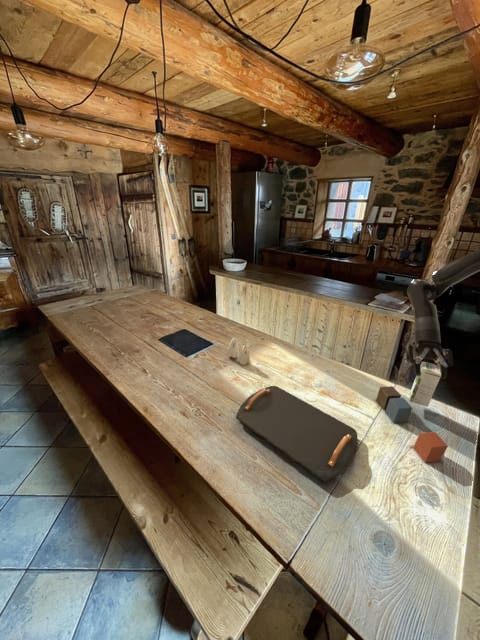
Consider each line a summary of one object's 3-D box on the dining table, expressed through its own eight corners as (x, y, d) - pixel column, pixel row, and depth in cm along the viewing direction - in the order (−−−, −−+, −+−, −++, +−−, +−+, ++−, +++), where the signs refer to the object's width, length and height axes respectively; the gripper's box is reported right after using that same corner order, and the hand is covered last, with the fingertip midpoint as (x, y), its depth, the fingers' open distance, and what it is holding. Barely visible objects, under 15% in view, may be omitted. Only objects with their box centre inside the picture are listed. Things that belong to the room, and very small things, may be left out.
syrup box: (409, 392, 101) (420, 360, 94) (428, 398, 98) (441, 365, 91) (409, 401, 96) (421, 368, 90) (428, 407, 93) (442, 374, 87)
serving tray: (365, 441, 85) (369, 427, 82) (333, 496, 69) (337, 481, 67) (267, 386, 108) (268, 374, 105) (228, 418, 92) (227, 405, 90)
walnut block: (388, 399, 102) (392, 386, 99) (396, 409, 98) (401, 395, 95) (375, 400, 102) (380, 387, 99) (383, 410, 97) (388, 396, 94)
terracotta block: (428, 446, 83) (434, 431, 81) (440, 461, 79) (448, 446, 76) (413, 447, 83) (419, 433, 80) (424, 462, 78) (431, 447, 76)
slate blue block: (398, 411, 97) (403, 397, 94) (407, 421, 92) (412, 407, 90) (385, 412, 96) (389, 398, 94) (393, 422, 92) (398, 408, 89)
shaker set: (225, 357, 127) (224, 337, 122) (230, 353, 130) (230, 333, 125) (245, 366, 120) (245, 345, 115) (250, 362, 123) (251, 342, 118)
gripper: (409, 326, 93) (413, 373, 88) (455, 330, 91) (461, 378, 86) (400, 332, 100) (403, 376, 95) (442, 336, 98) (447, 381, 93)
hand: (430, 377), depth 91 cm, fingers closed on syrup box, 7 cm apart
